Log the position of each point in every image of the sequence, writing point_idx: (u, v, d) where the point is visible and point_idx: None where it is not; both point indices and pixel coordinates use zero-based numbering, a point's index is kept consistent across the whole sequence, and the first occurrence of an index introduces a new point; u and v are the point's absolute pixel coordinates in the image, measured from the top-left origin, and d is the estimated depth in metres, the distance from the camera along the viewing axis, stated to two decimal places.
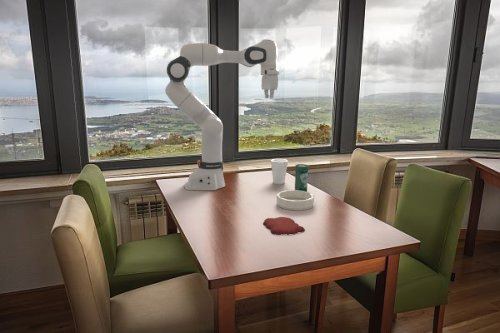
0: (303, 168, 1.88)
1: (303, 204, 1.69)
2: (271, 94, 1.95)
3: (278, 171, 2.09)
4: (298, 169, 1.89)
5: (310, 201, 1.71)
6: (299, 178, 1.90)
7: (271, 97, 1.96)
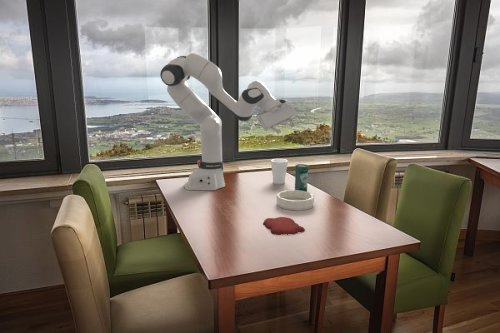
0: (303, 168, 1.88)
1: (303, 204, 1.69)
2: None
3: (278, 171, 2.09)
4: (298, 169, 1.89)
5: (310, 201, 1.71)
6: (299, 178, 1.90)
7: None
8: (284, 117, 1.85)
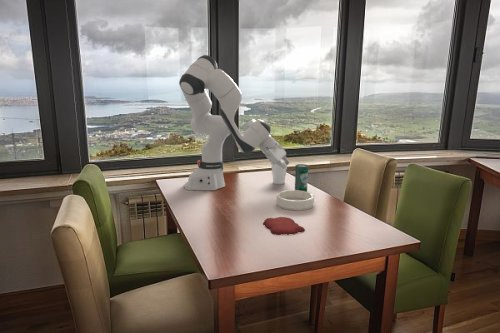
0: (303, 168, 1.88)
1: (303, 204, 1.69)
2: None
3: (278, 171, 2.09)
4: (298, 169, 1.89)
5: (310, 201, 1.71)
6: (299, 178, 1.90)
7: None
8: (282, 154, 1.94)
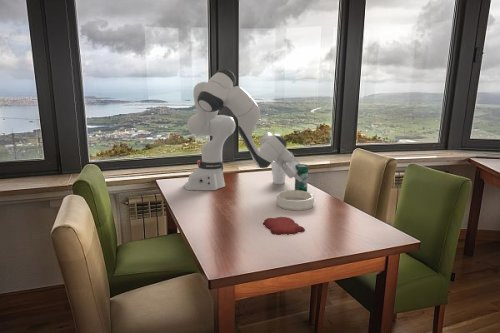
0: (303, 168, 1.88)
1: (303, 204, 1.69)
2: None
3: (278, 171, 2.09)
4: (298, 169, 1.89)
5: (310, 201, 1.71)
6: None
7: None
8: None
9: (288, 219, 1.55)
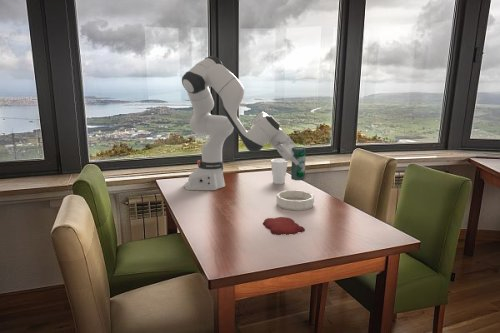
0: (300, 151, 1.74)
1: (303, 204, 1.69)
2: None
3: (278, 171, 2.09)
4: (295, 152, 1.75)
5: (310, 201, 1.71)
6: None
7: None
8: None
9: (288, 219, 1.55)
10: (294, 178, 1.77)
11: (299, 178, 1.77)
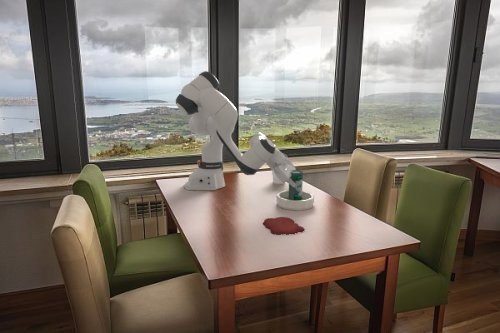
0: (297, 175, 1.71)
1: (303, 204, 1.69)
2: None
3: None
4: (292, 176, 1.72)
5: (310, 201, 1.71)
6: None
7: None
8: None
9: (288, 219, 1.55)
10: None
11: None
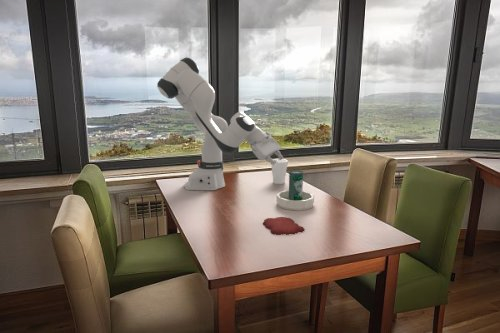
0: (297, 175, 1.71)
1: (303, 204, 1.69)
2: None
3: (278, 171, 2.09)
4: (292, 176, 1.72)
5: (310, 201, 1.71)
6: (293, 185, 1.73)
7: None
8: (274, 149, 1.76)
9: (288, 219, 1.55)
10: None
11: None
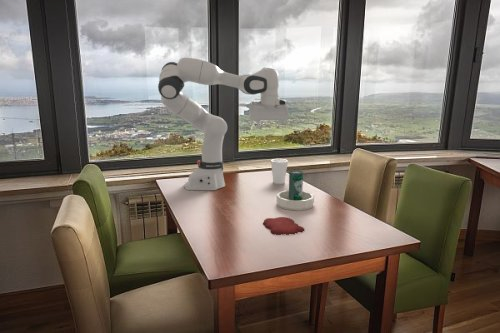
0: (297, 175, 1.71)
1: (303, 204, 1.69)
2: None
3: (278, 171, 2.09)
4: (292, 176, 1.72)
5: (310, 201, 1.71)
6: (293, 185, 1.73)
7: None
8: (273, 118, 1.88)
9: (288, 219, 1.55)
10: None
11: None
